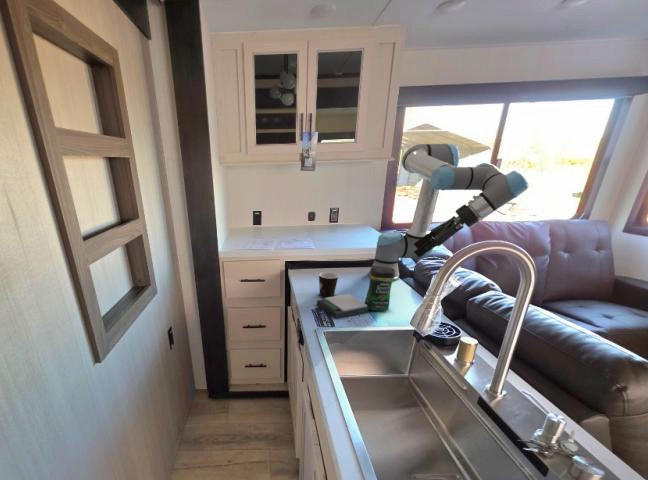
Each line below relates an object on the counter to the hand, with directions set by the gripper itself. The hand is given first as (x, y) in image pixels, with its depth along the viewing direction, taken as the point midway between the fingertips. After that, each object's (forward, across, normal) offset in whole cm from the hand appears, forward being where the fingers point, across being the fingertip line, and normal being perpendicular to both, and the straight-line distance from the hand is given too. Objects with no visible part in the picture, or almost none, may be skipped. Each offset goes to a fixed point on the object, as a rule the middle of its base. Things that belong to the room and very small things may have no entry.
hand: (415, 250), depth 119 cm
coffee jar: (+26, 0, +11) cm, 29 cm away
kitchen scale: (+36, +6, +2) cm, 36 cm away
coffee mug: (+42, -7, -5) cm, 43 cm away
